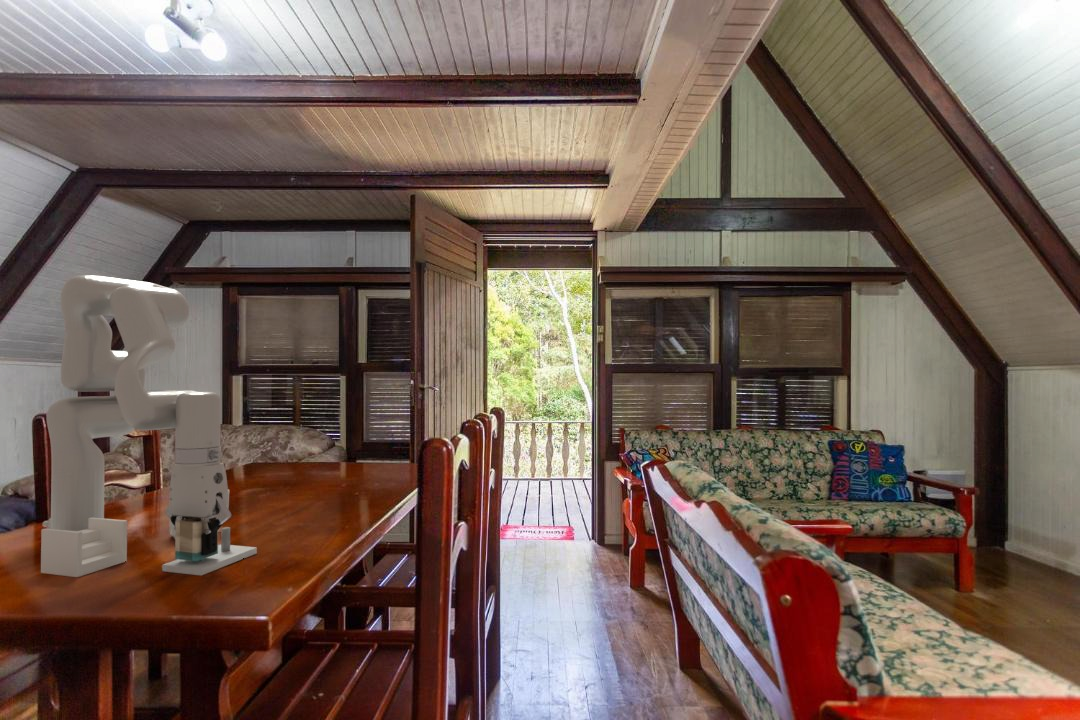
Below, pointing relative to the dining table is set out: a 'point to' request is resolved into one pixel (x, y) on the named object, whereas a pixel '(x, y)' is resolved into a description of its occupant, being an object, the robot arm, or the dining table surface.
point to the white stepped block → (84, 548)
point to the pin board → (212, 558)
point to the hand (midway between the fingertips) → (197, 551)
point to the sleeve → (190, 539)
